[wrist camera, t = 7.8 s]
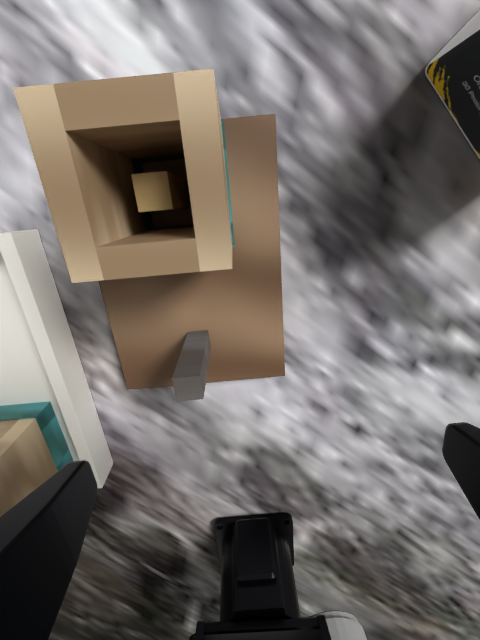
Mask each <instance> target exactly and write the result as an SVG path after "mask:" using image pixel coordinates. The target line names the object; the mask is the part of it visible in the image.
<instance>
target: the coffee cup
mask: <svg viewBox="0 0 480 640" xmlns="http://www.w3.org/2000/svg"><path fill="white" fill-rule="evenodd" d="M317 615H325V619H326V622H327V626H328V629H329V633H330V636H331V640H367V638H366V635H365V633H364V630H363V628H362V626H361V625H360V624H359V623H358V621H357V619H356V617H354V616H353V615H352V614H349V613H347V612H341V611H329V612H324V613H320V614H317ZM313 617H316V615H315V616H313Z"/></svg>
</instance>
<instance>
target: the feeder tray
mask: <svg viewBox="0 0 480 640" xmlns="http://www.w3.org/2000/svg"><path fill="white" fill-rule="evenodd" d="M49 401H50V402H51V404H52V407H53V409H54V412H55V414H56V417H57V419H58V422H59V425H60V427H61V430H62V432H63V435H64V437H65V440H66V443H67V445H68V448H69V450H70V453H71V455H72V458H73V461H81V460H86V461H88V462H89V463H90V465H91V468H92V471H93V474H94V476H95V479H96V482H97V488H102V487H103V485H104V483H105V481H106V479H107V476H108V474H109V472H110V470H111V468H112V465H113V460H112V457H111V454H110V451H109V448H108V445H107V442H106V438H105V435H104V432H103V429H102V426H101V423H100V420H99V417H98V414H97V411H96V408H95V405H94V402H93V398H92V395H91V392H90V389H89V386H88V383H87V380H86V377H85V374H84V371H83V368H82V365H81V362H80V358H79V355H78V352H77V349H76V346H75V343H74V340H73V337H72V334H71V331H70V328H69V325H68V322H67V319H66V315H65V312H64V309H63V306H62V303H61V300H60V297H59V294H58V291H57V288H56V285H55V282H54V279H53V275H52V272H51V269H50V266H49V263H48V260H47V257H46V254H45V251H44V248H43V245H42V242H41V239H40V235H39V232H38V229H32V230H22V231H11V232H0V406H3V405H14V404H26V403H37V402H49Z"/></svg>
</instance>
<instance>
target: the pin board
mask: <svg viewBox="0 0 480 640" xmlns="http://www.w3.org/2000/svg"><path fill="white" fill-rule="evenodd" d="M221 120H223V121H224V130H225V142H226V153H227V164H228V175H229V186H230V198H231V209H232V220H233V231H234V243H235V247H232V269H225V270H213V271H202V272H191V273H180V274H169V275H157V276H146V277H135V278H124V279H112V280H101V281H99V285H100V288H101V292H102V296H103V299H104V303H105V307H106V311H107V314H108V318H109V322H110V325H111V329H112V333H113V337H114V340H115V344H116V348H117V351H118V355H119V359H120V363H121V366H122V370H123V374H124V378H125V381H126V385H127V389H139V388H150V387H162V386H174V391H175V396H176V401H185V400H197V399H203V397H204V391H205V384H206V383H207V382H219V381H230V380H242V379H253V378H265V377H276V376H285V365H284V338H283V311H282V284H281V256H280V229H279V202H278V175H277V148H276V121H275V114H270V115H259V116H249V117H239V118H229V119H221ZM141 164H142V169H143V173H139V174H131V176H132V181H133V186H134V191H135V196H136V201H137V206H138V211H139V212H147V211H150V213H151V218H152V223H153V228H159V227H170V226H181V225H192V224H194V223H193V216H192V208H191V201H190V194H189V186H188V179H187V171H186V164H185V159H178V160H167V161H156V162H145V163H141Z"/></svg>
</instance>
